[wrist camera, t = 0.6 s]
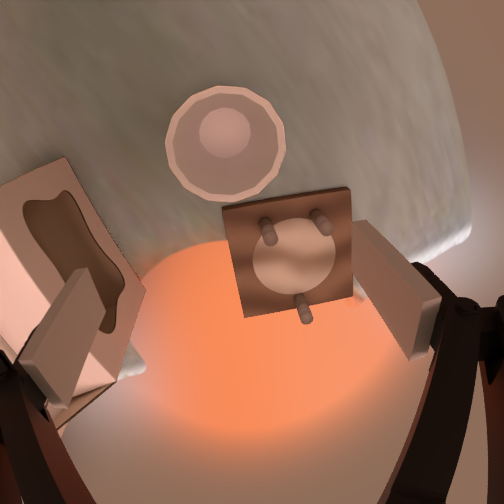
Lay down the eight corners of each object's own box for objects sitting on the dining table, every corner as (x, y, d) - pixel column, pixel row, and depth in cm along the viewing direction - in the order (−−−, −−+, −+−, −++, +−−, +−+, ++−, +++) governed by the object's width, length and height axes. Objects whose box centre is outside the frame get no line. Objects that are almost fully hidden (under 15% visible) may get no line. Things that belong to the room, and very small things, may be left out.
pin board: (221, 207, 39) (221, 226, 33) (346, 186, 39) (366, 201, 34) (243, 311, 46) (247, 340, 41) (349, 290, 46) (364, 316, 41)
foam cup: (224, 77, 33) (225, 61, 21) (281, 130, 36) (309, 143, 24) (168, 136, 35) (141, 151, 23) (225, 186, 38) (227, 224, 27)
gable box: (5, 202, 36) (-129, 308, 10) (65, 154, 34) (-106, 246, 9) (83, 320, 45) (19, 471, 20) (148, 291, 44) (97, 473, 19)
